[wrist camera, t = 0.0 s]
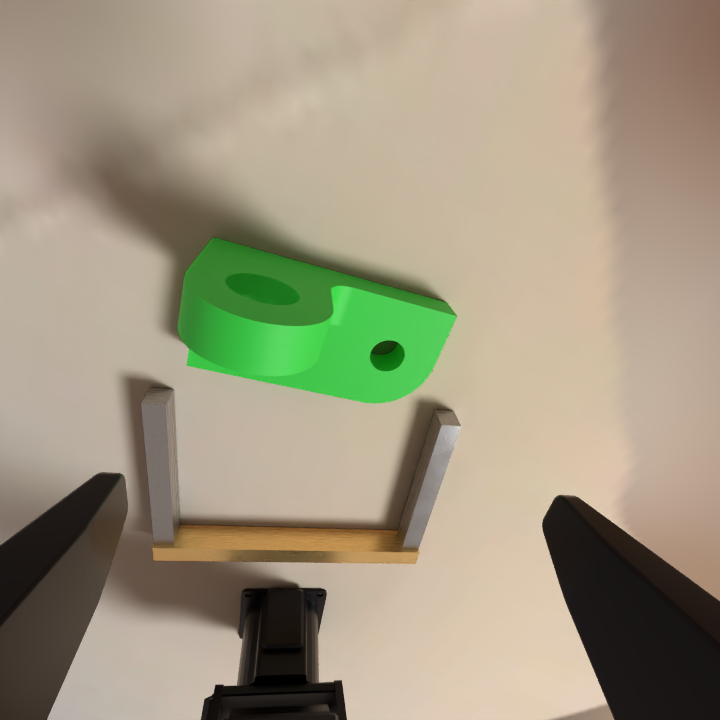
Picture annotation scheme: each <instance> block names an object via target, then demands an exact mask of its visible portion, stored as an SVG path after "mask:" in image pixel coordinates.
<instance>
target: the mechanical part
mask: <svg viewBox="0 0 720 720" xmlns="http://www.w3.org/2000/svg"><path fill="white" fill-rule="evenodd" d="M456 318H457V315H456V314H455V313H454V311H453V310H452V309H451V307H450V306H449V305H448V303H447V302H443V301H439V300H436V299H432V298H429V297H425V296H422V295H418V294H415V293H411V292H407V291H404V290H400V289H397V288H393V287H390V286H386V285H382V284H379V283H375V282H372V281H368V280H365V279H361V278H357V277H354V276H350V275H347V274H343V273H340V272H336V271H332V270H329V269H325V268H322V267H318V266H315V265H311V264H308V263H304V262H300V261H297V260H293V259H290V258H286V257H283V256H279V255H275V254H272V253H268V252H265V251H261V250H258V249H254V248H250V247H247V246H243V245H240V244H236V243H233V242H229V241H225V240H222V239H218V238H215V237H213V238H212V239H211V240H210V242H209V243H208V244H207V245H206V247H205V248H204V249H203V250H202V252H201V253H200V254H199V255H198V257H197V258H196V259H195V261H194V262H193V263H192V264H191V266H190V267H189V268H188V269H187V271H186V272H185V275H184V282H183V289H182V297H181V304H180V311H179V319H178V326H177V329H178V334H179V336H180V338H181V340H182V341H183V343H184V344H185V345H186V346H187V347H188V348H189V354H188V361H187V366H191V367H196V368H200V369H205V370H210V371H215V372H220V373H225V374H229V375H234V376H239V377H244V378H249V379H254V380H258V381H263V382H268V383H273V384H278V385H282V386H287V387H292V388H297V389H302V390H307V391H311V392H316V393H321V394H326V395H331V396H335V397H340V398H345V399H350V400H355V401H360V402H365V403H385V402H390V401H394V400H397V399H399V398H402V397H404V396H406V395H408V394H410V393H411V392H413V391H414V390H416V389H417V388H418V387H419V386H420V385H421V384H422V383H423V382H424V381H425V380H426V379H427V378H428V376H429V375H430V373H431V371H432V370H433V368H434V366H435V363H436V361H437V359H438V357H439V355H440V352H441V350H442V348H443V346H444V344H445V342H446V339H447V337H448V335H449V333H450V331H451V328H452V326H453V324H454V322H455V320H456ZM387 340H391V341H395V342H398V344H397V346H396V348H395V349H394V350H393V351H391V352H390V353H388V354H384V355H377V354H374V353H372V352H371V351H372V349H373V348H374V346H375V345H377V344H378V343H380V342H382V341H387Z"/></svg>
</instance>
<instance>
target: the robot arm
mask: <svg viewBox="0 0 720 720" xmlns="http://www.w3.org/2000/svg"><path fill="white" fill-rule="evenodd" d="M127 511H128V500H127V491H126V482H125V477H124V475H123V474H121V473H106V472H101V473H98V474H96V475H95V476H93V477H92V478H91V479H89V480H88V481H86V482H85V483H84V484H82V485H81V486H80V487H78V488H77V489H76V490H74V491H73V492H72V493H70V494H69V495H68V496H66V497H65V498H63V499H62V500H61V501H59V502H58V503H57V504H55V505H54V506H53V507H51V508H50V509H49V510H47V511H46V512H45V513H43V514H42V515H40V516H39V517H38V518H36V519H35V520H34V521H32V522H31V523H30V524H28V525H27V526H26V527H24V528H23V529H22V530H20V531H19V532H17V533H16V534H15V535H13V536H12V537H11V538H9V539H8V540H7V541H5V542H4V543H3V544H1V545H0V720H47V718H48V716H49V713H50V711H51V709H52V706H53V704H54V702H55V700H56V697H57V695H58V693H59V691H60V688H61V686H62V684H63V682H64V679H65V677H66V675H67V673H68V670H69V668H70V666H71V664H72V661H73V659H74V657H75V654H76V652H77V650H78V648H79V645H80V643H81V641H82V639H83V636H84V634H85V632H86V630H87V627H88V625H89V623H90V621H91V618H92V616H93V614H94V611H95V609H96V607H97V604H98V602H99V599H100V597H101V594H102V591H103V588H104V585H105V582H106V579H107V576H108V572H109V569H110V566H111V563H112V560H113V557H114V554H115V550H116V547H117V544H118V541H119V538H120V535H121V532H122V529H123V525H124V522H125V519H126V516H127ZM542 528H543V533H544V536H545V539H546V542H547V546H548V549H549V552H550V555H551V558H552V562H553V565H554V568H555V571H556V574H557V578H558V581H559V584H560V587H561V590H562V593H563V596H564V599H565V601H566V604H567V607H568V609H569V612H570V614H571V616H572V619H573V621H574V624H575V626H576V629H577V631H578V633H579V636H580V638H581V641H582V643H583V645H584V648H585V650H586V653H587V655H588V657H589V660H590V662H591V665H592V667H593V669H594V672H595V674H596V677H597V679H598V681H599V684H600V686H601V689H602V691H603V693H604V696H605V698H606V701H607V703H608V706H609V708H610V710H611V713H612V715H613V718H614V720H720V601H719V600H718V599H716V598H715V597H713V596H712V595H711V594H709V593H708V592H707V591H705V590H704V589H703V588H701V587H700V586H698V585H697V584H696V583H694V582H693V581H692V580H690V579H689V578H688V577H686V576H685V575H683V574H682V573H680V572H679V571H678V570H676V569H675V568H674V567H673V566H671V565H670V564H668V563H667V562H666V561H664V560H663V559H662V558H660V557H659V556H657V555H656V554H655V553H653V552H652V551H651V550H649V549H648V548H647V547H645V546H644V545H642V544H641V543H640V542H638V541H637V540H636V539H634V538H633V537H632V536H630V535H629V534H627V533H626V532H625V531H623V530H622V529H621V528H619V527H618V526H617V525H615V524H614V523H612V522H611V521H610V520H608V519H607V518H606V517H604V516H603V515H602V514H600V513H599V512H597V511H596V510H595V509H593V508H592V507H591V506H589V505H588V504H587V503H585V502H584V501H582V500H581V499H580V498H578V497H576V496H571V495H558V496H557V497H555V499H554V500H553V502H552V504H551V506H550V507H549V509H548V511H547V513H546V515H545V517H544V519H543V522H542ZM247 593H250V594H249V595H248V594H247ZM319 593H322V594H319ZM326 596H327V594H326V590H325V589H251V588H249V589H245V590H243V591H242V596H241V614H240V631H239V637H240V638H241V639H243V641H242V649H241V657H240V665H239V673H238V681H237V686H224V685H215V690H214V694H212V696H210V697H208V698H206V699H205V700H204V705H203V711H202V717H201V720H347V717H346V709H345V702H344V694H343V686H342V680H336V681H334V682H324V683H319V663H318V633H319V629H320V624H321V619H322V614H323V610H324V605H325V600H326Z"/></svg>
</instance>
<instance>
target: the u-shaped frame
mask: <svg viewBox="0 0 720 720" xmlns="http://www.w3.org/2000/svg"><path fill="white" fill-rule="evenodd" d="M141 409H142V420H143V431H144V442H145V453H146V464H147V474H148V485H149V496H150V507H151V518H152V529H153V539H154V545H153V548H152V549H153V559H154V561H233V562H315V563H397V564H416V561H417V558H418V555H419V546H420V543H421V540H422V537H423V534H424V531H425V529H426V526H427V523H428V520H429V517H430V514H431V511H432V509H433V506H434V503H435V500H436V497H437V494H438V491H439V489H440V486H441V483H442V480H443V477H444V474H445V471H446V469H447V466H448V463H449V460H450V457H451V454H452V451H453V449H454V446H455V443H456V440H457V437H458V434H459V431H460V429H461V425H460V423H459V421H458V419H457V417H456V415H455V413H454V411H446V410H435V411H434V414H433V418H432V421H431V424H430V428H429V431H428V434H427V437H426V441H425V444H424V447H423V450H422V454H421V457H420V460H419V463H418V467H417V470H416V473H415V477H414V480H413V483H412V486H411V490H410V493H409V496H408V499H407V503H406V506H405V509H404V512H403V516H402V519H401V522H400V526H399V529H398V530H359V529H321V528H282V527H244V526H205V525H180V511H179V490H178V469H177V448H176V427H175V406H174V389H162V388H150V389H149V391H148V392H147V394H146V396H145V398H144V399H143V401H142V403H141Z"/></svg>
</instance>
